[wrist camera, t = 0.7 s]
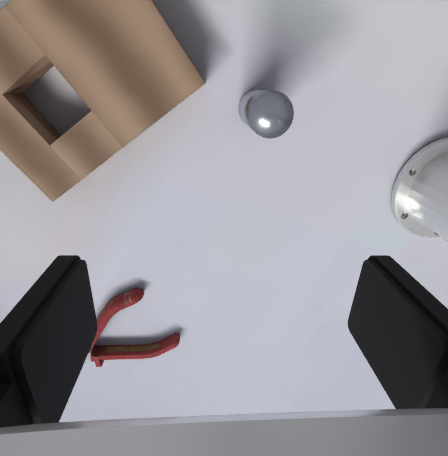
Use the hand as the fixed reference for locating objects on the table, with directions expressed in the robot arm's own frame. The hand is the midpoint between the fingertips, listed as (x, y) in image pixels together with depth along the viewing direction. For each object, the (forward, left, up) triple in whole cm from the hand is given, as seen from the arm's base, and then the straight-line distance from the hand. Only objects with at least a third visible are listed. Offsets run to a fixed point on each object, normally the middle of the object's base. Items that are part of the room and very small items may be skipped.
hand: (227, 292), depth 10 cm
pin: (-6, -1, -27) cm, 27 cm away
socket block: (+7, -13, -27) cm, 30 cm away
